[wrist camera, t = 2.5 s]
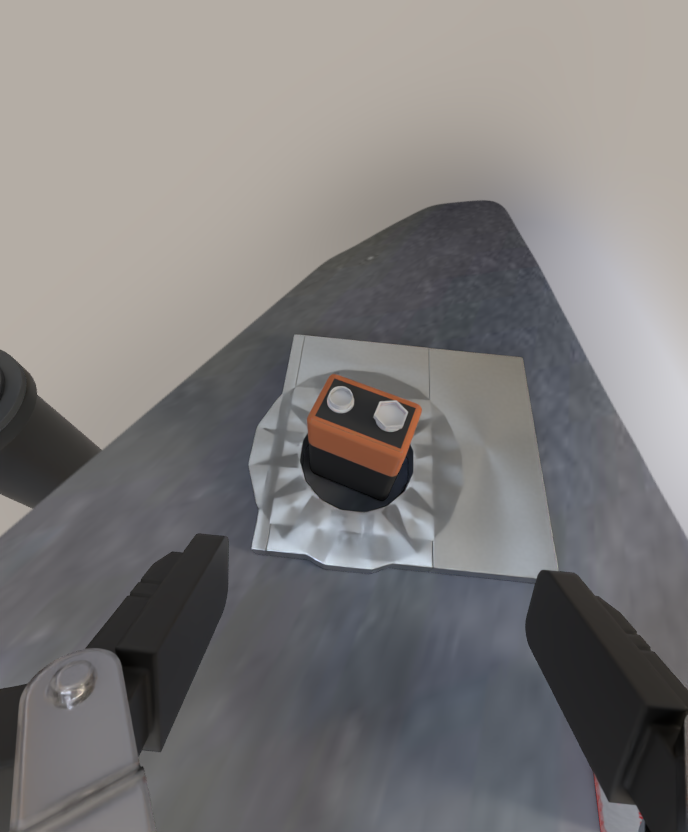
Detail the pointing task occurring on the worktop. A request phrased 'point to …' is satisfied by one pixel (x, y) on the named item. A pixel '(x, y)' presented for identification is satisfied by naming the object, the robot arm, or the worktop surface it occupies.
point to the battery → (360, 435)
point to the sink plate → (412, 467)
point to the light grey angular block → (616, 814)
